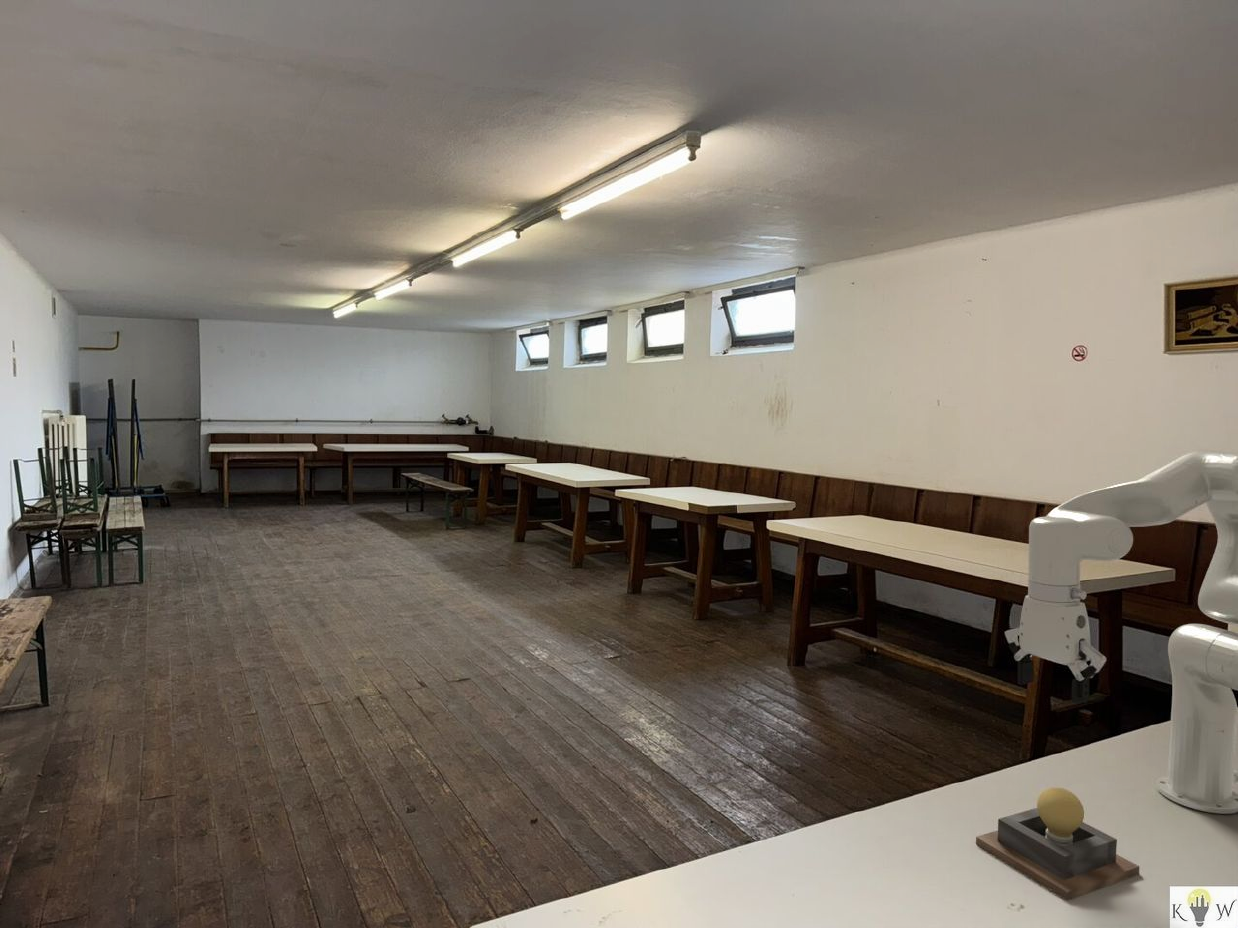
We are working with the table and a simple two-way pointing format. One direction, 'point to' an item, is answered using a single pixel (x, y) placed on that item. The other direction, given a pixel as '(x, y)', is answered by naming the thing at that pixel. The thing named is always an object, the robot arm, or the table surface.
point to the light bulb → (1060, 814)
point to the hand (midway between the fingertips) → (1051, 692)
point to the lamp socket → (1058, 855)
